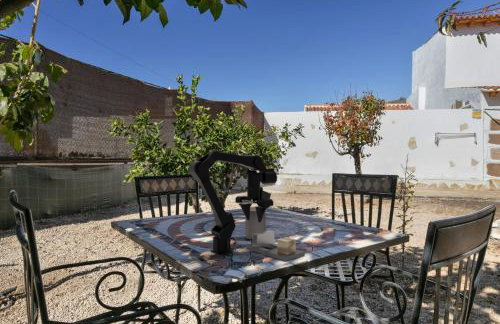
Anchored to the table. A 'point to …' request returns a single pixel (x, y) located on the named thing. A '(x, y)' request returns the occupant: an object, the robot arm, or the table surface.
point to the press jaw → (262, 238)
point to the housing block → (286, 245)
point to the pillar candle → (254, 223)
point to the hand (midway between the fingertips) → (253, 221)
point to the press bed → (275, 252)
